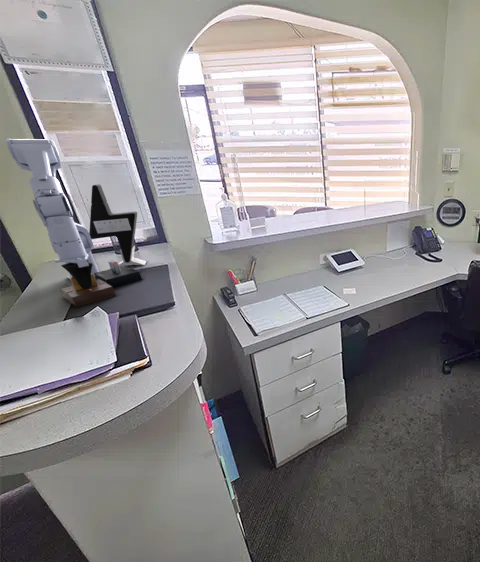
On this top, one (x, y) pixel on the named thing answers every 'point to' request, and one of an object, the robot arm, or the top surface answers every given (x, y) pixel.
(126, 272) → the back plate
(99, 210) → the award
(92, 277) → the block
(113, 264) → the block
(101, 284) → the brown wooden base
